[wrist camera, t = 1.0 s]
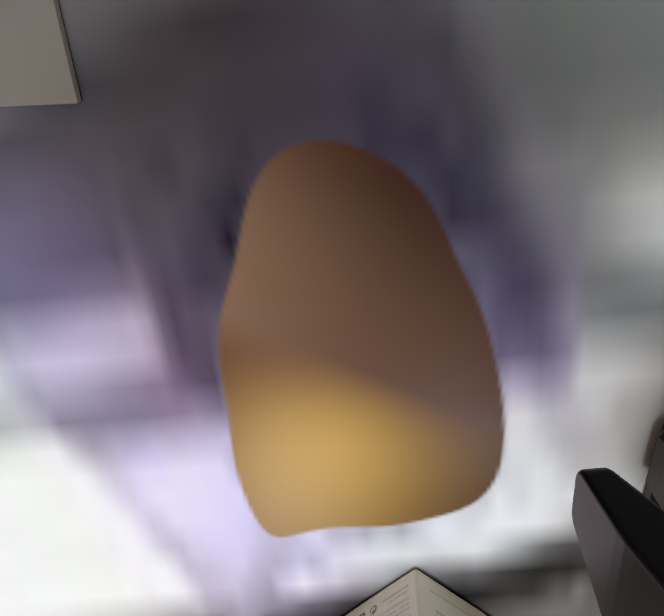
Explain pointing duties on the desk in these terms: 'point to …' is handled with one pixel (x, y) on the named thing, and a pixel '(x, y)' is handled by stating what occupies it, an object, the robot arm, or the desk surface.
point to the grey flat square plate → (35, 55)
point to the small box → (415, 600)
